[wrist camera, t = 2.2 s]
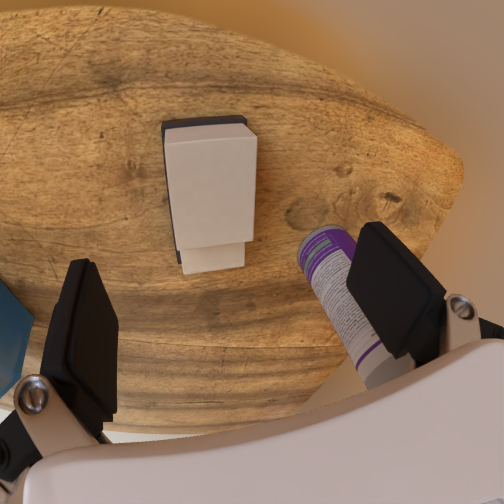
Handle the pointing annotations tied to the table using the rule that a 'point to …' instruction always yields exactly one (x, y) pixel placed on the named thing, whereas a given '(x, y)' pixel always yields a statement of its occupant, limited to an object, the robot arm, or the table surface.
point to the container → (346, 304)
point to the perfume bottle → (12, 338)
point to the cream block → (210, 189)
